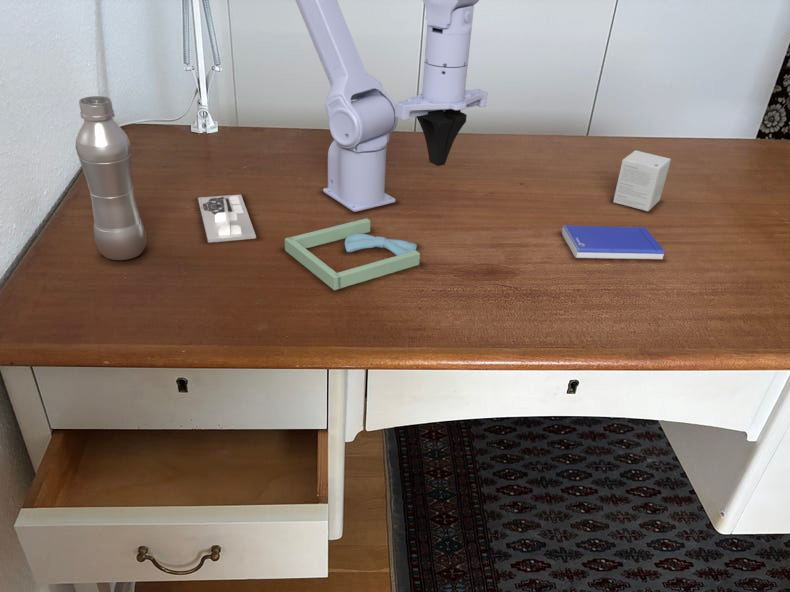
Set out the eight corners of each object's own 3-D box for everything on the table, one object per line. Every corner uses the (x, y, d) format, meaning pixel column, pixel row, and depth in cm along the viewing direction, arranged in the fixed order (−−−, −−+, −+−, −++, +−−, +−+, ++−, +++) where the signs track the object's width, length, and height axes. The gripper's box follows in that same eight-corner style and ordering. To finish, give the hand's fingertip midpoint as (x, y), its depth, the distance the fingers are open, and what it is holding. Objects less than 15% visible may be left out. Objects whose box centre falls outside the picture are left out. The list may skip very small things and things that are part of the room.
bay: (284, 250, 98) (284, 238, 97) (366, 229, 105) (366, 218, 104) (334, 290, 90) (334, 277, 89) (419, 265, 97) (420, 252, 96)
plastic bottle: (102, 270, 92) (70, 111, 80) (93, 248, 97) (61, 95, 85) (154, 261, 94) (129, 105, 83) (142, 240, 99) (117, 90, 88)
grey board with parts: (256, 238, 101) (254, 208, 99) (208, 242, 99) (204, 212, 97) (241, 197, 113) (239, 169, 110) (198, 200, 111) (195, 172, 108)
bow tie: (340, 241, 98) (349, 226, 102) (339, 252, 99) (348, 236, 103) (413, 251, 96) (419, 236, 100) (412, 262, 97) (418, 246, 101)
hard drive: (578, 249, 99) (665, 250, 100) (563, 223, 106) (644, 225, 107) (576, 259, 100) (662, 260, 101) (561, 233, 107) (642, 235, 108)
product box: (660, 201, 119) (672, 158, 114) (647, 213, 115) (660, 168, 110) (624, 191, 122) (635, 149, 117) (611, 202, 117) (621, 158, 113)
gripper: (420, 75, 88) (413, 181, 96) (507, 63, 95) (493, 163, 103) (387, 62, 93) (383, 165, 100) (472, 52, 100) (462, 148, 108)
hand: (437, 163), depth 102 cm, fingers closed
